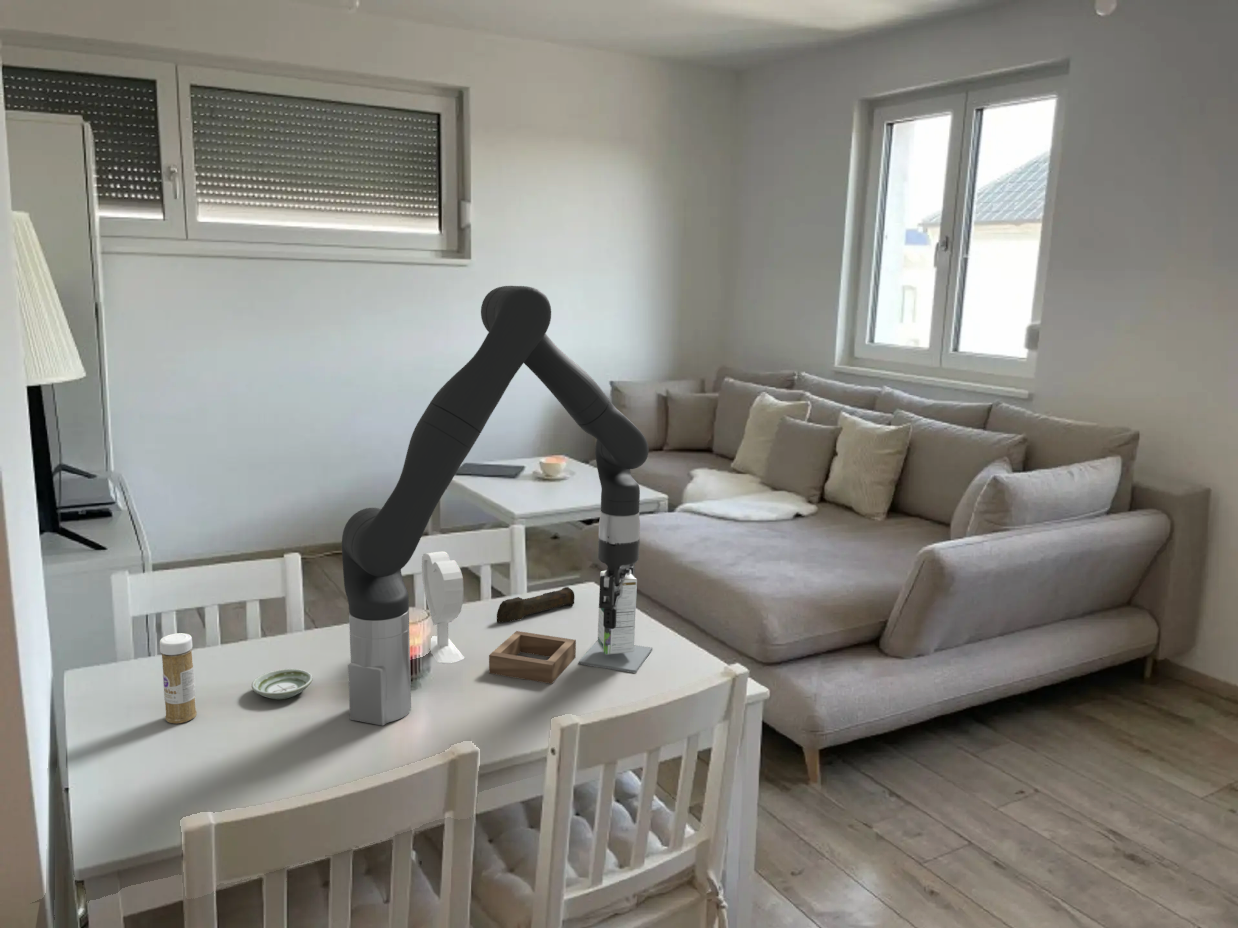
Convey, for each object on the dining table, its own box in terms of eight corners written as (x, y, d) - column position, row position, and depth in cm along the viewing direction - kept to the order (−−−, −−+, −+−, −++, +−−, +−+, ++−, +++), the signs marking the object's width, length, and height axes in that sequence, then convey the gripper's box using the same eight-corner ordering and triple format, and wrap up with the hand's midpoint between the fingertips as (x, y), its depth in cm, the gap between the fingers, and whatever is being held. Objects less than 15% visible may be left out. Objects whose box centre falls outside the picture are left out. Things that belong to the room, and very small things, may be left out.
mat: (635, 672, 166) (635, 670, 166) (578, 663, 169) (578, 661, 169) (652, 649, 176) (652, 647, 176) (597, 641, 179) (597, 639, 179)
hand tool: (564, 601, 201) (564, 581, 201) (575, 607, 198) (575, 586, 198) (490, 620, 190) (489, 599, 189) (500, 626, 187) (500, 604, 186)
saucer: (287, 676, 161) (286, 663, 161) (325, 690, 157) (324, 676, 156) (239, 696, 153) (238, 683, 153) (278, 711, 148) (277, 697, 148)
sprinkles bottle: (159, 720, 144) (152, 640, 141) (183, 708, 148) (177, 630, 146) (180, 727, 142) (173, 645, 140) (204, 714, 146) (198, 635, 144)
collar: (551, 683, 161) (552, 664, 160) (489, 673, 164) (489, 654, 164) (575, 657, 172) (575, 639, 171) (516, 648, 175) (516, 630, 175)
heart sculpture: (419, 636, 180) (417, 547, 176) (444, 632, 182) (443, 544, 178) (441, 666, 166) (440, 571, 163) (468, 662, 169) (467, 568, 165)
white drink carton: (596, 643, 174) (598, 570, 171) (626, 640, 176) (628, 568, 173) (604, 655, 169) (607, 580, 166) (635, 652, 170) (638, 577, 168)
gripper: (611, 523, 176) (609, 604, 179) (586, 543, 162) (584, 630, 166) (649, 527, 173) (646, 609, 177) (627, 548, 160) (624, 636, 163)
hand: (616, 619), depth 171 cm, fingers closed on white drink carton, 8 cm apart
